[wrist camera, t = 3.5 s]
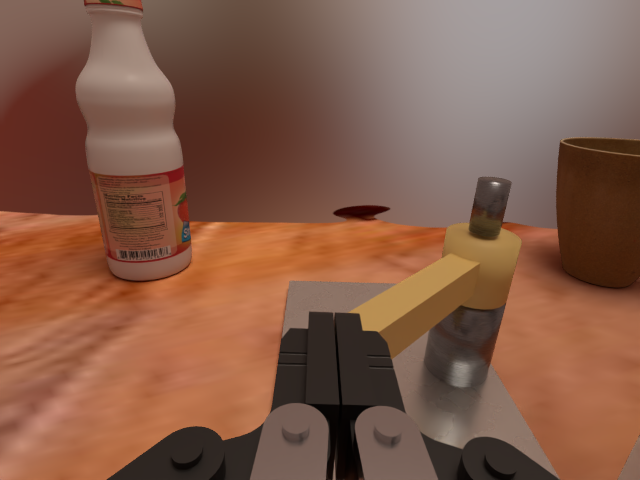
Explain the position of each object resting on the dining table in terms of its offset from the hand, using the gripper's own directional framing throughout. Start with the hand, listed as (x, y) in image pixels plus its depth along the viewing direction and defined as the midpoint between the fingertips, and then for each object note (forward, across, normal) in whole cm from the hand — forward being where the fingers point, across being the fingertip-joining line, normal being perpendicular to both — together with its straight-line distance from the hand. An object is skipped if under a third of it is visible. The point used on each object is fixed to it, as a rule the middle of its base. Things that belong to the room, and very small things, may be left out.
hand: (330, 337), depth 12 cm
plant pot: (+34, -35, +14) cm, 51 cm away
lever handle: (+10, -6, +7) cm, 13 cm away
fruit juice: (+33, +20, +15) cm, 41 cm away
